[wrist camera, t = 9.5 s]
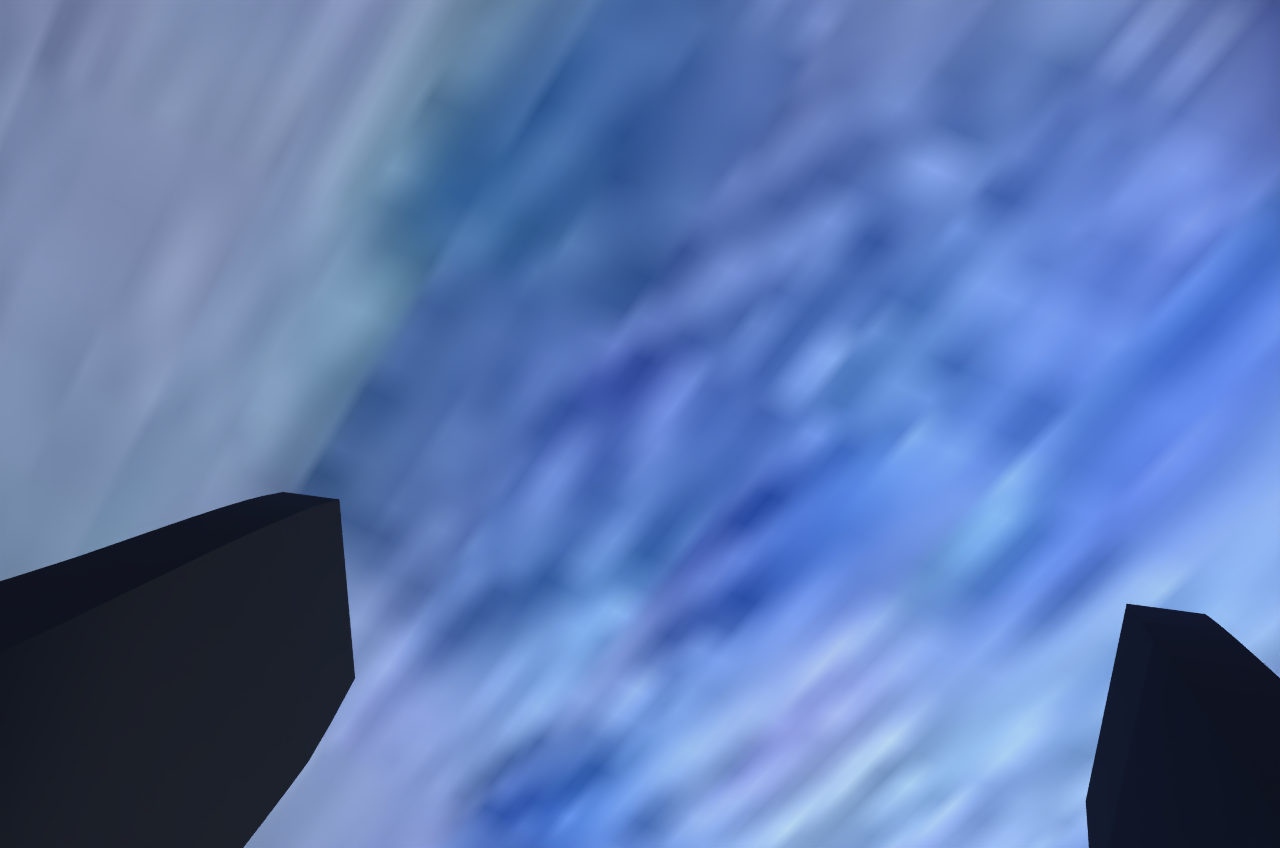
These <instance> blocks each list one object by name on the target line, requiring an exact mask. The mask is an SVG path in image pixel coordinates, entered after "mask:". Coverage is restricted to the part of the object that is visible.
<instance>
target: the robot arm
mask: <svg viewBox="0 0 1280 848" xmlns="http://www.w3.org/2000/svg"><path fill="white" fill-rule="evenodd" d="M354 679H355V672H354V661H353V649H352V638H351V627H350V615H349V604H348V593H347V581H346V570H345V559H344V547H343V536H342V525H341V513H340V502H339V499H332V498H324V497H317V496H309V495H302V494H294V493H286V492H281V493H276V494H271V495H266V496H261V497H257V498H253V499H249V500H245V501H242V502H239V503H235V504H232V505H228V506H225V507H222V508H219V509H216V510H212V511H209V512H206V513H203V514H200V515H197V516H194V517H191V518H188V519H185V520H183V521H180V522H177V523H174V524H171V525H168V526H165V527H162V528H159V529H156V530H153V531H151V532H148V533H145V534H142V535H139V536H136V537H133V538H130V539H127V540H125V541H122V542H119V543H116V544H113V545H110V546H107V547H104V548H101V549H99V550H96V551H93V552H90V553H87V554H84V555H81V556H78V557H75V558H72V559H69V560H66V561H63V562H60V563H57V564H54V565H50V566H47V567H44V568H41V569H38V570H35V571H31V572H28V573H25V574H22V575H19V576H16V577H13V578H9V579H6V580H3V581H0V848H243V847H244V846H245V845H246V843H247V842H248V841H249V840H250V838H251V837H252V836H253V834H254V833H255V832H256V831H257V829H258V828H259V827H260V825H261V824H262V823H263V821H264V820H265V819H266V817H267V816H268V815H269V813H270V812H271V811H272V810H273V808H274V807H275V806H276V804H277V803H278V802H279V800H280V799H281V798H282V796H283V795H284V794H285V792H286V791H287V790H288V788H289V787H290V786H291V784H292V783H293V782H294V780H295V779H296V778H297V776H298V775H299V774H300V772H301V771H302V770H303V768H304V767H305V765H306V764H307V763H308V761H309V759H310V758H311V756H312V754H313V753H314V751H315V749H316V748H317V746H318V744H319V742H320V741H321V739H322V737H323V736H324V734H325V732H326V731H327V729H328V727H329V726H330V724H331V722H332V720H333V718H334V716H335V714H336V713H337V711H338V709H339V707H340V705H341V703H342V701H343V699H344V698H345V696H346V694H347V692H348V690H349V688H350V686H351V685H352V683H353V681H354ZM1086 812H1087V826H1088V840H1089V848H1280V678H1279V677H1278V676H1277V675H1276V674H1275V673H1274V672H1272V671H1271V670H1270V669H1269V668H1268V667H1267V666H1266V665H1265V664H1264V663H1262V662H1261V661H1260V660H1259V659H1258V658H1257V657H1256V656H1255V655H1254V654H1252V653H1251V652H1250V651H1249V650H1248V649H1247V648H1246V647H1245V646H1243V645H1242V644H1241V643H1240V642H1239V641H1238V640H1237V639H1235V638H1234V637H1233V636H1232V635H1231V634H1230V633H1229V632H1227V631H1226V630H1225V629H1224V628H1223V627H1221V626H1220V625H1219V624H1218V623H1216V622H1215V621H1214V620H1212V619H1211V618H1210V617H1209V616H1207V615H1206V614H1200V613H1193V612H1185V611H1178V610H1170V609H1163V608H1155V607H1147V606H1140V605H1132V604H1126V609H1125V614H1124V619H1123V624H1122V629H1121V633H1120V638H1119V643H1118V648H1117V653H1116V658H1115V662H1114V667H1113V672H1112V677H1111V682H1110V686H1109V691H1108V696H1107V701H1106V706H1105V711H1104V715H1103V720H1102V725H1101V730H1100V735H1099V739H1098V744H1097V749H1096V754H1095V759H1094V764H1093V768H1092V773H1091V778H1090V783H1089V788H1088V793H1087V797H1086Z"/></svg>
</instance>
